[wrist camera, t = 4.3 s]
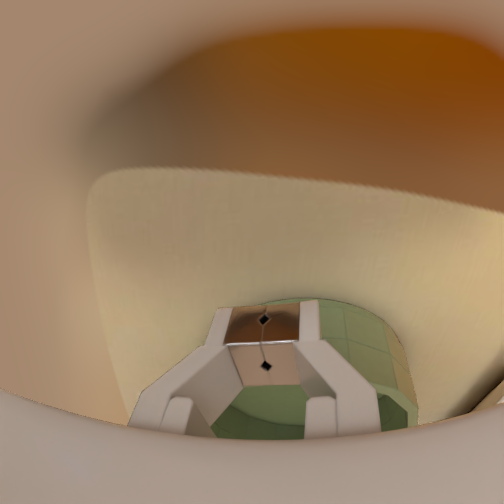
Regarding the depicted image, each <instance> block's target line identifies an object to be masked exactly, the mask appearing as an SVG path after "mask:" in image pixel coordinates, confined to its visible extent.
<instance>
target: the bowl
mask: <svg viewBox="0 0 504 504" xmlns="http://www.w3.org/2000/svg"><path fill="white" fill-rule="evenodd" d="M310 300H318V302H319V311H320V322H321V333H322V340H323V339H325V340H326V341H327V342H328V343H329V344H330V345H331V346H332V347H334V348H335V349H336V350H337V351H338V352H339V353H340V354H341V355H342V356H343V357H344V358H345V359H346V360H347V361H348V362H349V363H350V364H351V365H352V366H353V367H354V368H355V369H356V370H357V371H358V372H359V373H360V374H361V375H362V376H363V377H364V378H365V379H366V380H367V381H368V382H369V383H370V384H371V385H372V386H373V387H374V388H375V389H376V393H377V400H378V408H379V415H380V424H381V432H385V431H391V430H397V429H403V428H408V427H413V426H417V424H418V404H417V399H416V395H415V391H414V387H413V383H412V379H411V375H410V371H409V367H408V363H407V359H406V356H405V352H404V348H403V347H402V345H401V344H400V342H399V340H398V337H397V336H396V334H395V333H394V331H393V330H392V329H391V328H390V327H389V326H388V325H387V324H386V323H385V322H384V321H383V320H381V319H380V318H379V317H377V316H376V315H374V314H372V313H370V312H368V311H366V310H364V309H362V308H360V307H357V306H354V305H351V304H348V303H343V302H339V301H334V300H326V299H317V298H297V299H285V300H278V301H273V302H268V303H264V304H261V305H276V304H286V303H297V302H302V301H310ZM261 305H257V306H261ZM308 400H309V397H308V396H307V394H306V393H305V392H304V390H303V389H302V387H301V385H266V386H243V389H242V390H241V392H240V393H239V394H238V395H237V396H236V398H235V399H234V400H233V401H232V402H231V403H230V405H229V406H228V407H227V408H226V409H225V410H224V412H223V413H222V414H221V415H220V416H219V417H218V418H217V420H216V421H215V422H214V423H213V424H212V425H211V426H210V428H211V429H212V431H213V432H214V434H215V435H216V437H217V438H226V439H247V440H298V439H304V431H305V416H306V402H307V401H308Z"/></svg>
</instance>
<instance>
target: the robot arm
mask: <svg viewBox="0 0 504 504" xmlns="http://www.w3.org/2000/svg"><path fill="white" fill-rule="evenodd" d="M266 385H301V387H302V389H303V390H304V392H305V393H306V394H307V396H308V397H309V400H308V401H307V402H306V416H305V431H304V439H298V440H247V439H226V438H217V437H216V435H215V434H214V432H213V431H212V429H211V428H210V426H211V425H212V424H213V423H214V422H215V421H216V420H217V418H218V417H219V416H220V415H221V414H222V413H223V412H224V410H225V409H226V408H227V407H228V406H229V405H230V403H231V402H232V401H233V400H234V399H235V398H236V396H237V395H238V394H239V393H240V392H241V390H242V389H243V386H266ZM0 504H504V402H502V403H499V404H497V405H494V406H491V407H487V408H484V409H481V410H478V411H475V412H471V413H468V414H464V415H461V416H457V417H453V418H449V419H445V420H441V421H437V422H432V423H428V424H423V425H418V426H413V427H408V428H403V429H397V430H391V431H385V432H381V424H380V415H379V408H378V400H377V393H376V389H375V388H374V387H373V386H372V385H371V384H370V383H369V382H368V381H367V380H366V379H365V378H364V377H363V376H362V375H361V374H360V373H359V372H358V371H357V370H356V369H355V368H354V367H353V366H352V365H351V364H350V363H349V362H348V361H347V360H346V359H345V358H344V357H343V356H342V355H341V354H340V353H339V352H338V351H337V350H336V349H335V348H334V347H332V346H331V345H330V344H329V343H328V342H327V341H326V340H325V339H323V340H322V333H321V322H320V311H319V302H318V300H310V301H302V302H297V303H286V304H276V305H261V306H242V307H226V308H218V309H217V310H216V312H215V314H214V317H213V320H212V323H211V326H210V329H209V332H208V335H207V338H206V341H205V344H204V346H199V347H197V348H196V349H195V350H194V351H192V352H191V353H190V354H189V355H187V356H186V357H185V358H184V359H182V360H181V361H180V362H179V363H178V364H176V365H175V366H174V367H173V368H171V369H170V370H169V371H167V372H166V373H165V374H164V375H162V376H161V377H160V378H159V379H157V380H156V381H155V382H154V383H152V384H151V385H150V386H148V387H147V388H146V389H145V390H143V391H142V392H141V395H140V397H139V399H138V401H137V404H136V406H135V408H134V411H133V413H132V415H131V418H130V420H129V423H128V425H127V426H125V425H120V424H115V423H111V422H106V421H102V420H98V419H94V418H89V417H86V416H82V415H78V414H75V413H71V412H68V411H64V410H61V409H58V408H54V407H51V406H48V405H45V404H42V403H38V402H36V401H33V400H30V399H28V398H25V397H22V396H19V395H17V394H14V393H11V392H9V391H7V390H4V389H2V388H0Z"/></svg>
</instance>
